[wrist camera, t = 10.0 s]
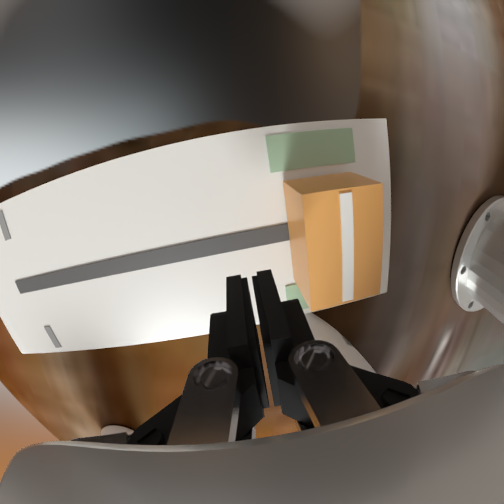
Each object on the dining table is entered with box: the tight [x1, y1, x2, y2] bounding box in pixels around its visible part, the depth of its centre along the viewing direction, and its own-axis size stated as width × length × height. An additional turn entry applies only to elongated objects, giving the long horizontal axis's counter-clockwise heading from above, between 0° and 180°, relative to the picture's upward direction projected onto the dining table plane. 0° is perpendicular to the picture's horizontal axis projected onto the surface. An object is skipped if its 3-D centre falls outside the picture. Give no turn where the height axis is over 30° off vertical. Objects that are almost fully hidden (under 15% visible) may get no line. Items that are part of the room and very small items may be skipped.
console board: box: [0, 118, 391, 354], centre depth 17 cm, size 30×12×2 cm, turn 99°
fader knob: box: [283, 172, 383, 312], centre depth 15 cm, size 4×6×4 cm, turn 9°
